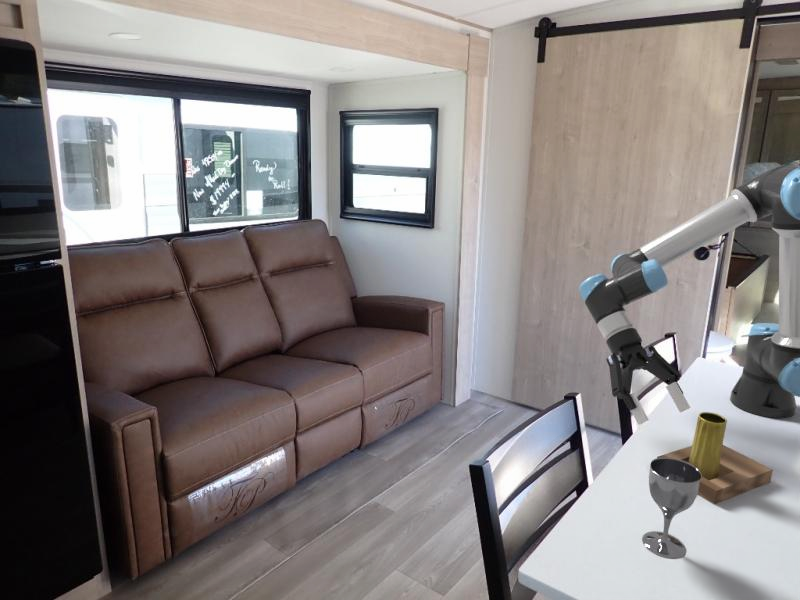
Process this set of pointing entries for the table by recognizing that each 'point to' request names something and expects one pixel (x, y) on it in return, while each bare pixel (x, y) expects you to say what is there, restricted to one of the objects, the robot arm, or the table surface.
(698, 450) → the vase
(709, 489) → the frame
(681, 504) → the wine glass
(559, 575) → the table surface
